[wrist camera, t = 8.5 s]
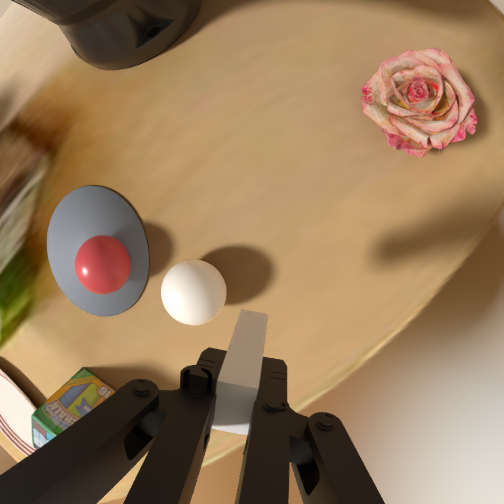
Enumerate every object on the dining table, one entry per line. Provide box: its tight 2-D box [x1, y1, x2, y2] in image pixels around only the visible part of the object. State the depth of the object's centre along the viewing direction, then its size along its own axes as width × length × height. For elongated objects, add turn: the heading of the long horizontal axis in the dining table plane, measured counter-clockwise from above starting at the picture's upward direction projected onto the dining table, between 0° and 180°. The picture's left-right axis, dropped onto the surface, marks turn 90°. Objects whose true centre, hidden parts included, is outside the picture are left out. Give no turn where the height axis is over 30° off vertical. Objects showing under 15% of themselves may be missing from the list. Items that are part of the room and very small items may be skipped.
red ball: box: [75, 235, 131, 295], centre depth 25 cm, size 6×6×6 cm
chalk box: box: [31, 367, 116, 450], centre depth 25 cm, size 9×9×15 cm
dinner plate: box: [0, 369, 37, 456], centre depth 36 cm, size 28×27×3 cm
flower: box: [361, 48, 478, 157], centre depth 19 cm, size 10×9×8 cm
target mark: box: [47, 186, 149, 316], centre depth 28 cm, size 14×14×1 cm
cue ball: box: [161, 260, 227, 325], centre depth 24 cm, size 6×6×6 cm
